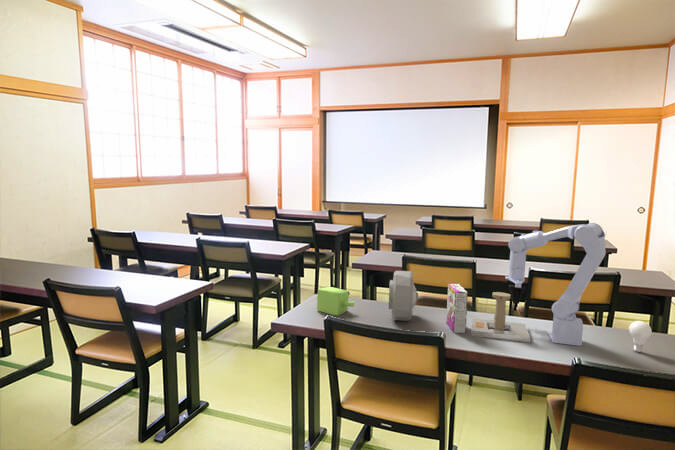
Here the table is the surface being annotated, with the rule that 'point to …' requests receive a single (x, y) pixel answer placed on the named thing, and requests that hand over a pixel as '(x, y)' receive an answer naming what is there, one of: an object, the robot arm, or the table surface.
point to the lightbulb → (639, 334)
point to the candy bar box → (457, 308)
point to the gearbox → (333, 300)
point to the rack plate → (516, 331)
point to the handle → (500, 309)
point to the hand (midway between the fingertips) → (514, 300)
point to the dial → (402, 295)
